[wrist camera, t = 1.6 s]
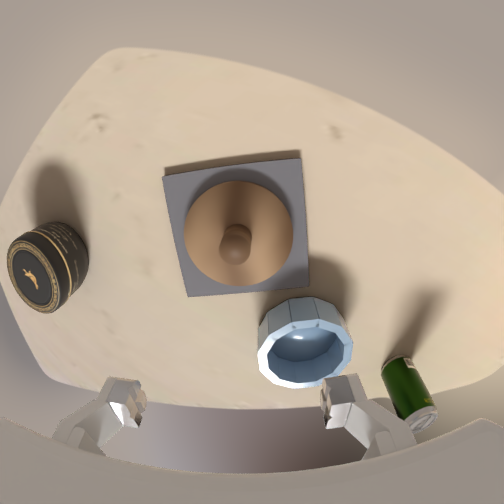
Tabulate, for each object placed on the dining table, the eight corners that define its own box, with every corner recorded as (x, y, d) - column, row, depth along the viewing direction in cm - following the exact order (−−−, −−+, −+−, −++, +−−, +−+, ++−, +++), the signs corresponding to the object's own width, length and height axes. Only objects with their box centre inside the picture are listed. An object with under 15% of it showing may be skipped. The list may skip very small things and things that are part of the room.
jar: (44, 206, 29) (6, 223, 22) (99, 237, 31) (64, 262, 24) (37, 266, 33) (6, 290, 26) (87, 298, 34) (59, 329, 27)
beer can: (391, 351, 36) (420, 412, 25) (416, 355, 37) (446, 410, 26) (373, 376, 38) (395, 436, 27) (398, 378, 39) (422, 433, 28)
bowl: (344, 290, 32) (355, 313, 28) (340, 356, 36) (347, 381, 32) (254, 300, 33) (253, 325, 29) (263, 364, 37) (263, 391, 33)
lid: (286, 174, 27) (291, 181, 23) (295, 275, 31) (300, 297, 27) (177, 188, 28) (162, 198, 23) (197, 284, 32) (188, 307, 27)
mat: (299, 157, 27) (300, 158, 26) (308, 282, 32) (309, 286, 31) (164, 175, 28) (161, 176, 27) (189, 293, 33) (187, 297, 32)
